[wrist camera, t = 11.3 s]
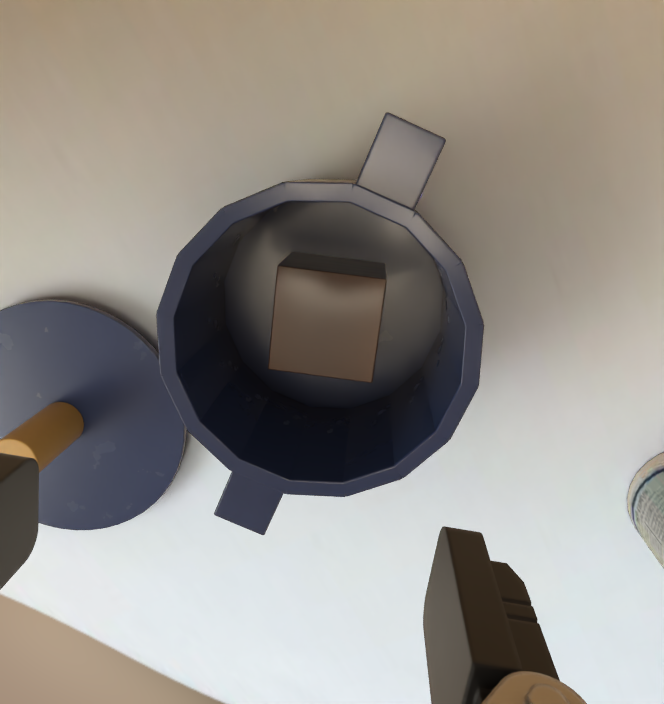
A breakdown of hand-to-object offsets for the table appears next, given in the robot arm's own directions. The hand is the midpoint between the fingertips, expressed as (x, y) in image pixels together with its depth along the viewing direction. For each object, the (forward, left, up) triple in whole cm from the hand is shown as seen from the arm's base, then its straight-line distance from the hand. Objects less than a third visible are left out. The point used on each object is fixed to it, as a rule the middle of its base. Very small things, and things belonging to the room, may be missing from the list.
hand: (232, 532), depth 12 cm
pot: (0, 0, -22) cm, 22 cm away
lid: (-11, -12, -21) cm, 26 cm away
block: (0, 0, -21) cm, 21 cm away
